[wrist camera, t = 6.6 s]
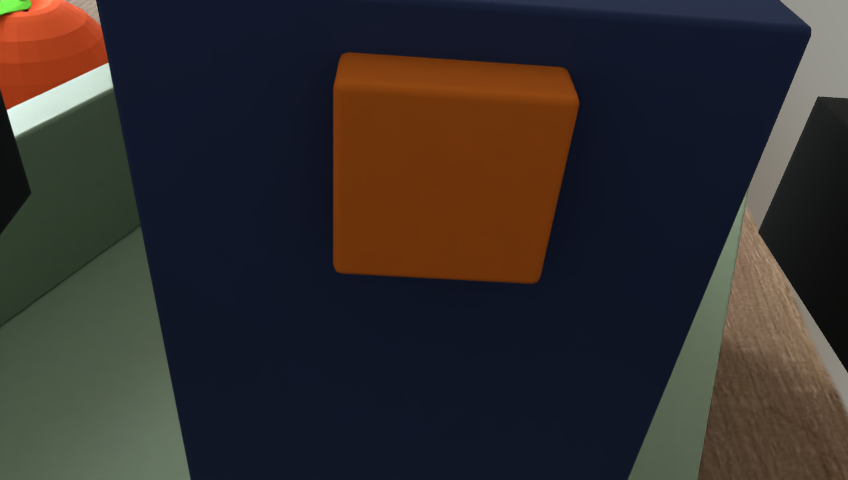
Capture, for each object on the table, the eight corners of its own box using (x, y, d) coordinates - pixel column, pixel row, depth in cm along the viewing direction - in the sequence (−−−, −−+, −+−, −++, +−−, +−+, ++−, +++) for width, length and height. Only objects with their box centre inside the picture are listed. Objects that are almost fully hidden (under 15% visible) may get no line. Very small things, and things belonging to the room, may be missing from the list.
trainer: (583, 647, 12) (852, 57, 6) (203, 637, 11) (56, -1, 5) (497, 152, 24) (552, -198, 18) (315, 140, 24) (309, -220, 18)
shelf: (689, 322, 29) (798, 58, 22) (502, 1121, 12) (705, 1032, 6) (335, 203, 33) (335, -45, 27) (-146, 666, 17) (-456, 321, 10)
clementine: (20, 202, 31) (-30, 45, 27) (-76, 151, 34) (-135, 0, 30) (162, 131, 37) (140, -8, 33) (70, 92, 40) (38, -42, 35)
